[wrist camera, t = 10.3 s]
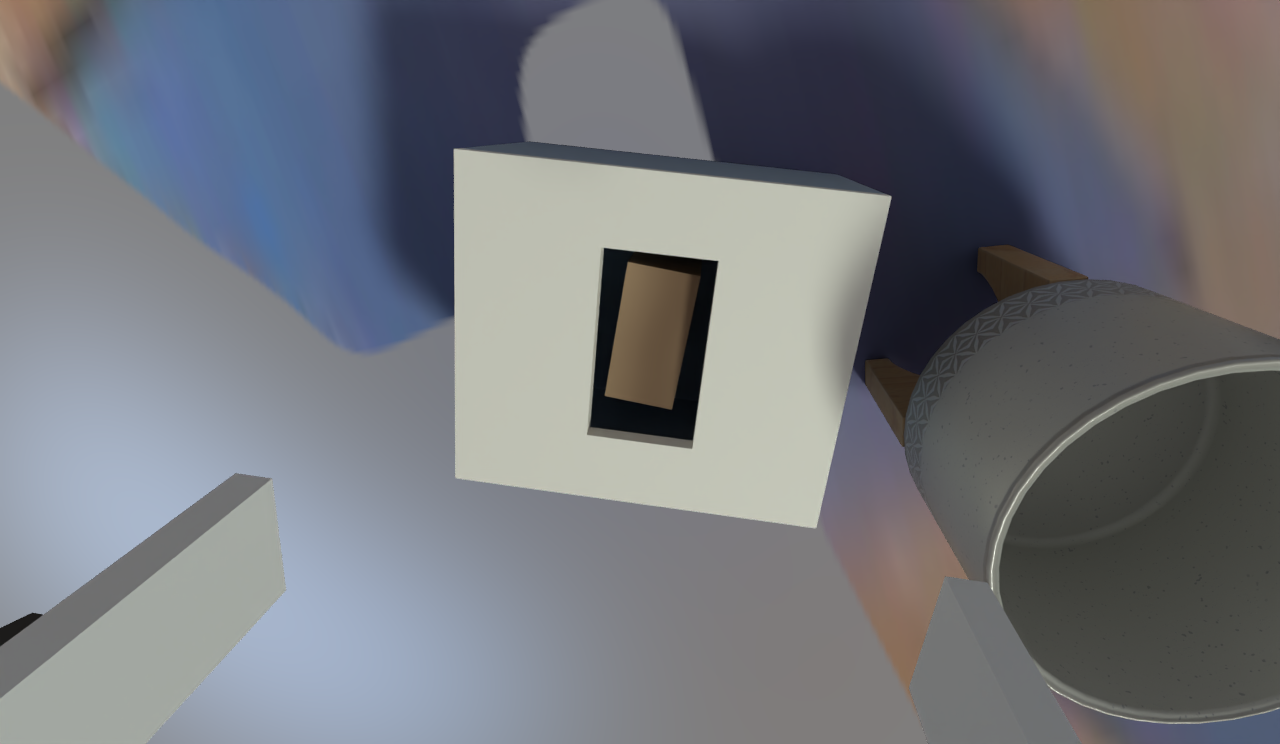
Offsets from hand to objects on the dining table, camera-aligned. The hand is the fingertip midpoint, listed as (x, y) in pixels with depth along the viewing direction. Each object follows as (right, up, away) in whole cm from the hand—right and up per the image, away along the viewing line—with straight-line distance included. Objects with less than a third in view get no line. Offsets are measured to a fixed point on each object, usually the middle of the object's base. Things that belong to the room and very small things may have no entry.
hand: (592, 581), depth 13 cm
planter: (+20, +5, +24) cm, 31 cm away
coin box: (+2, +9, +24) cm, 25 cm away
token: (+2, +9, +23) cm, 25 cm away
